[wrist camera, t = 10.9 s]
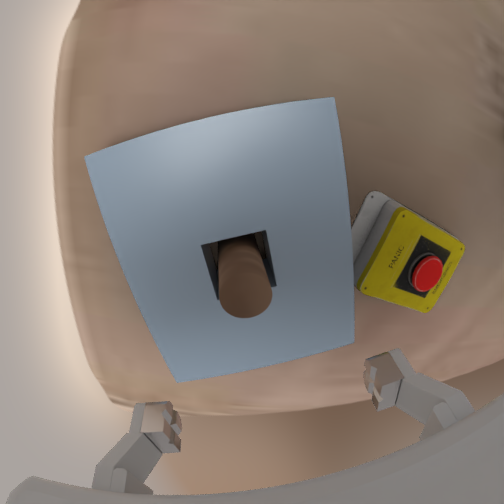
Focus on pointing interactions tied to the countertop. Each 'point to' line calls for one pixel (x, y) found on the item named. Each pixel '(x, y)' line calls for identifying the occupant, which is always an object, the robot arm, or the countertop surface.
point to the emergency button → (401, 254)
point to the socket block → (234, 233)
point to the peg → (242, 277)
